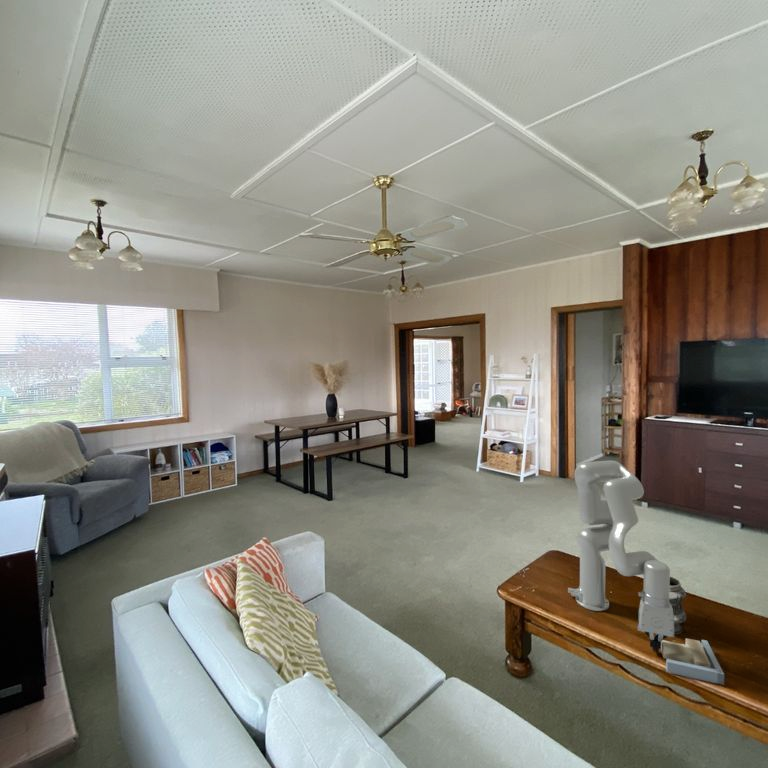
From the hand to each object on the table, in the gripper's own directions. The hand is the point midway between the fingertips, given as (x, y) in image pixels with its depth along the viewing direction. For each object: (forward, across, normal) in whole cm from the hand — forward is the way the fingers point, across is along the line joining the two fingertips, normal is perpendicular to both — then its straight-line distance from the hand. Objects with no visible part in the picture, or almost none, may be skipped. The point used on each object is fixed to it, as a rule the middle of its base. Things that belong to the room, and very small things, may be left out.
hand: (655, 649), depth 146 cm
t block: (+1, +8, 0) cm, 8 cm away
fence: (+1, +9, 0) cm, 9 cm away
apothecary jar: (+2, +7, +19) cm, 20 cm away
